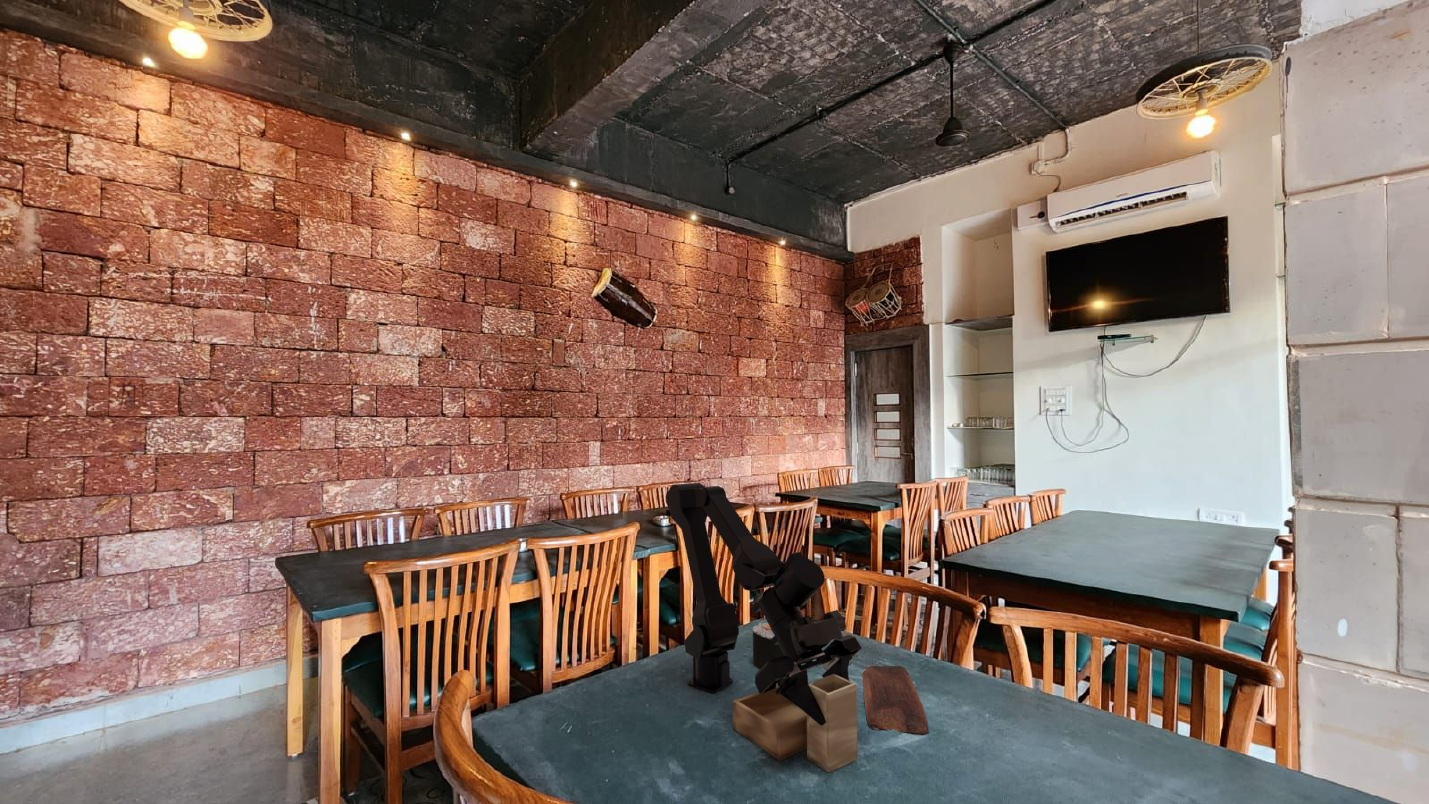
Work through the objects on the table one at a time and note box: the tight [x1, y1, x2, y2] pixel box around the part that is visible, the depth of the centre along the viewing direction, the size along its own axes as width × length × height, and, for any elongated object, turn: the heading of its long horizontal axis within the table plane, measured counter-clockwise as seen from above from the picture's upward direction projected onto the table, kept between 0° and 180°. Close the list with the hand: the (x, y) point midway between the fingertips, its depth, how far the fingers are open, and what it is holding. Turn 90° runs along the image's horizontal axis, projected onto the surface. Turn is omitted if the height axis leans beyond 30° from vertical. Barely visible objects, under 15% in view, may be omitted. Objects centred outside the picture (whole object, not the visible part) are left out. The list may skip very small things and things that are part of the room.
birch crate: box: [806, 674, 858, 774], centre depth 88 cm, size 4×6×11 cm
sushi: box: [752, 622, 784, 670], centre depth 123 cm, size 8×8×8 cm
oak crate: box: [732, 684, 807, 762], centre depth 96 cm, size 11×13×4 cm
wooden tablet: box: [861, 665, 929, 736], centre depth 108 cm, size 26×2×10 cm
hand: (838, 717), depth 87 cm, fingers closed on birch crate, 6 cm apart
